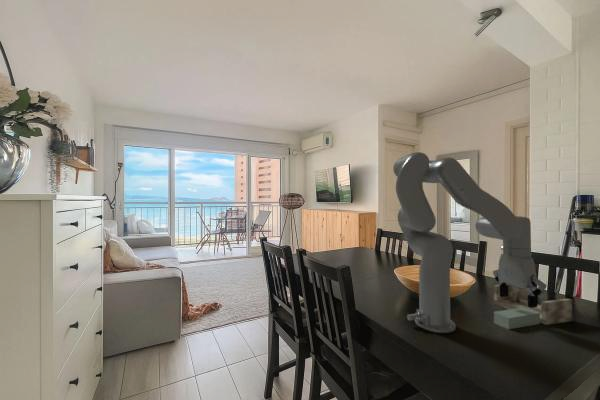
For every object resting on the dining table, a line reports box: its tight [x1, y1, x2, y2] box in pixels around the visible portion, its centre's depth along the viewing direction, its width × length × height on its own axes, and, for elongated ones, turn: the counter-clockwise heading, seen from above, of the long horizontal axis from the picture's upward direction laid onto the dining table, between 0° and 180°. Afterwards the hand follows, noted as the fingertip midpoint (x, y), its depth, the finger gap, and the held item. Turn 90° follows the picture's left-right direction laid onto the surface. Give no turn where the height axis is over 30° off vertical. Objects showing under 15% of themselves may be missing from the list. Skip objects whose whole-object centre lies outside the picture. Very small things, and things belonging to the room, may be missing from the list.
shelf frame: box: [493, 284, 573, 326], centre depth 100 cm, size 12×19×8 cm, turn 12°
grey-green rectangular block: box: [493, 307, 541, 330], centre depth 91 cm, size 14×5×4 cm, turn 105°
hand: (517, 301), depth 91 cm, fingers open, 9 cm apart
